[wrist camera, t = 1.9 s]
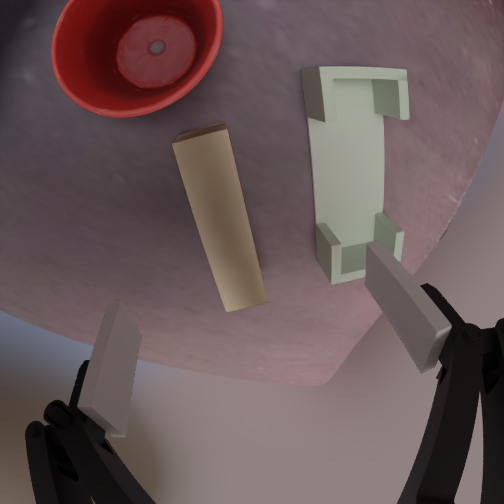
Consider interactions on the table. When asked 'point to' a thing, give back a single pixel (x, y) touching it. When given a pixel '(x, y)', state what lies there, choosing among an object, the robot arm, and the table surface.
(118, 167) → the table surface
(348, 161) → the green tray
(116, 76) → the flower pot
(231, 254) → the wooden block
